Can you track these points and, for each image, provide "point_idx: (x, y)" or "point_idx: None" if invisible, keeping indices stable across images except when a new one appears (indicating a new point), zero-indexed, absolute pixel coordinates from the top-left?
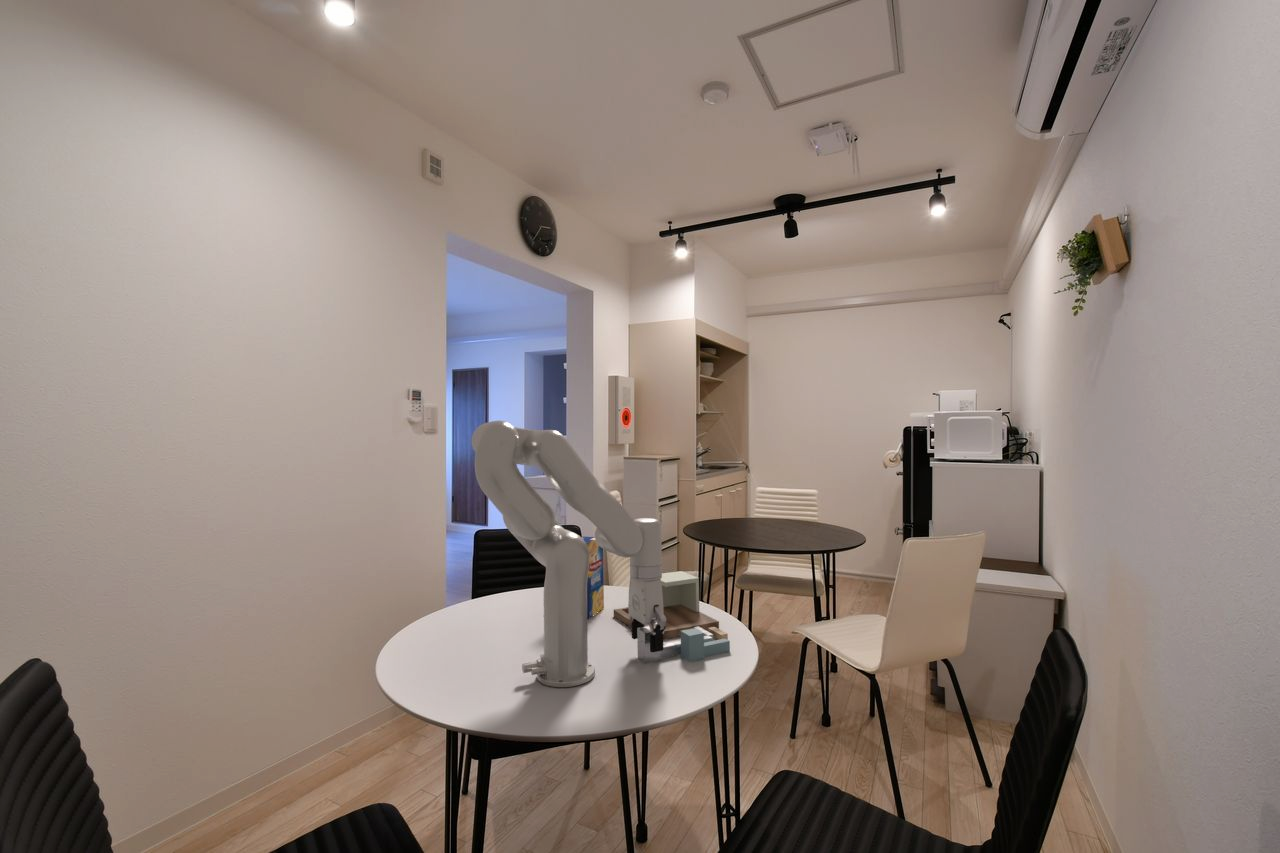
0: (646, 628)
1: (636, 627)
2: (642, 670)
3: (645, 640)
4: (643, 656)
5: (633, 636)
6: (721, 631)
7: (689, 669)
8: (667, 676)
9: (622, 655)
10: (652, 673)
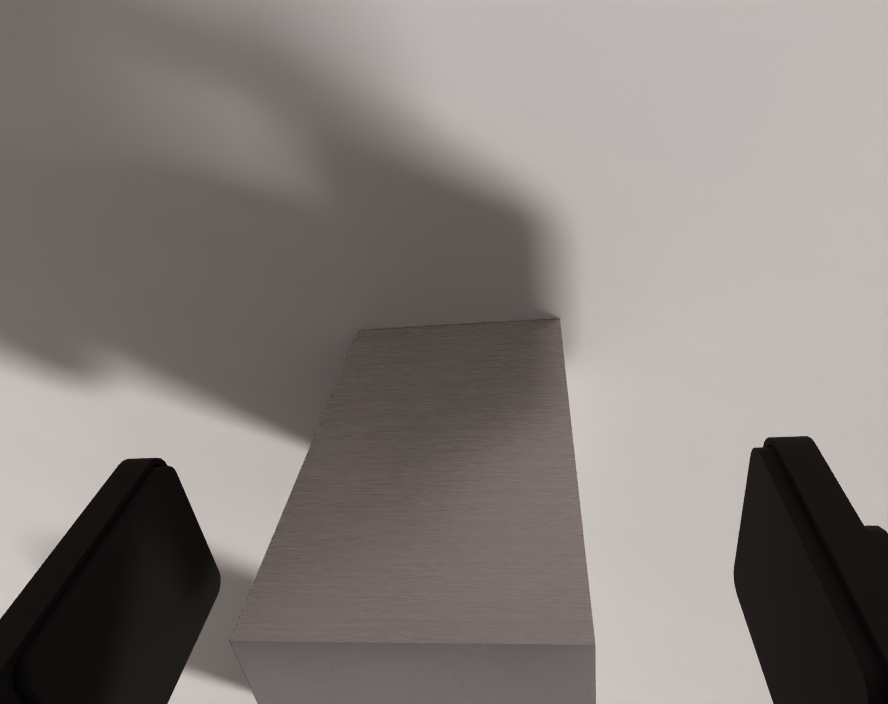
0: None
1: (811, 644)
2: (180, 238)
3: (279, 535)
4: (389, 365)
5: (766, 469)
6: None
7: None
8: (6, 396)
9: (746, 171)
10: (86, 304)
